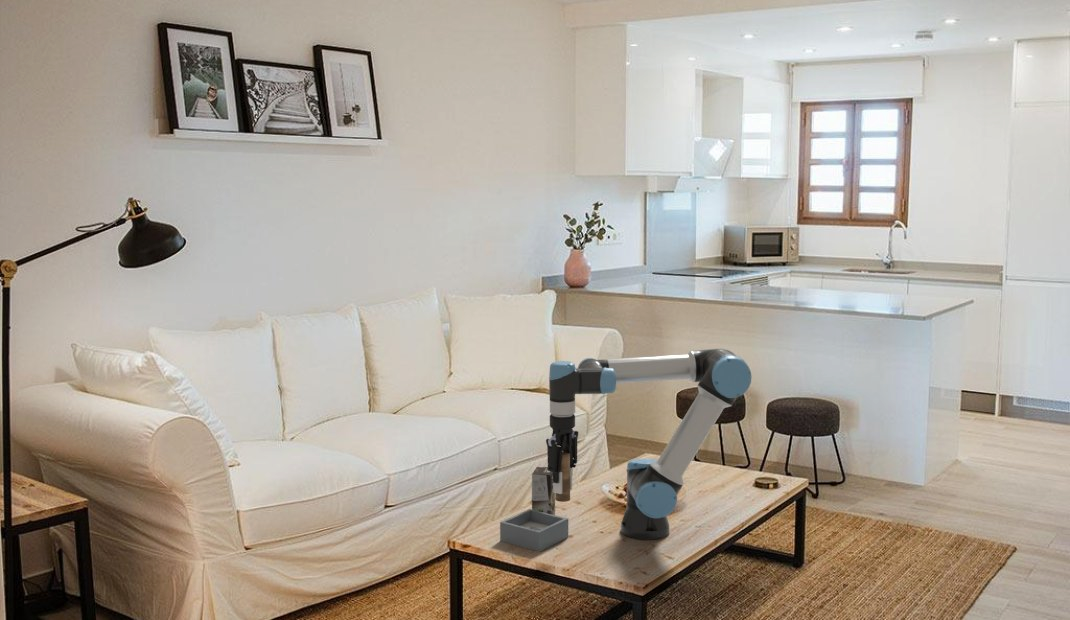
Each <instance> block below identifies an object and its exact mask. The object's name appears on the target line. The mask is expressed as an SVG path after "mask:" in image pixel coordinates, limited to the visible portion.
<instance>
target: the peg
mask: <svg viewBox="0 0 1070 620" xmlns="http://www.w3.org/2000/svg"><path fill="white" fill-rule="evenodd" d="M560 472H562V494H558V493H555V502H556V501H557V502H560V503H562V502H564V503H566V502H569V501H570V500H571V490H570V453H568V452H563V453H562V462H561V470H560Z"/></svg>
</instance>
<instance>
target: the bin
mask: <svg viewBox="0 0 1070 620" xmlns="http://www.w3.org/2000/svg"><path fill="white" fill-rule="evenodd" d="M499 536H500V539H499V540H500V542H503V543H506V544H510V545H512V546H517V547H521V548H525V549H529V550H532V551H535V552H542V551H544V550H545V549H548V548H550V547H552V546H553V545H556V544H558V543H560V542H562V541H564V540H566V539H567V538H569V518H567V517H564V516H558V515H556V514H555V515H552V514H548V513H544V512H540V511H536V510H532V508H529V509H527V510H524V511H523V512H520V513H518V514H515V515H513V516H511V517H509V518H507V519H504V520H502V521H500V522H499Z"/></svg>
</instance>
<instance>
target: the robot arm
mask: <svg viewBox="0 0 1070 620" xmlns="http://www.w3.org/2000/svg"><path fill="white" fill-rule="evenodd" d="M548 374H549V375H548V376H549V377H548V382H549V383H548V385H549V386H548V388H549V392H548V393H549V414H550V415H549V428H551V429H552V432H551V437H550V438H546V439H545V442H546V447H547V448H546V449H547V453H546V454H547V467H548V471H552V472H553V493H558V494H562V472H560V470H561V462H562V453H563V452H568V453H570V491H571V490H573V468H576V467H577V464H578V438H579V431H577V430H574V429H573V428H575V427H576V415H575V413H576V395H597V394H598V395H600V394H601V395H605V394H613V393H615V391H616V389H617V384H622V383H623V384H625V383H642V382H644V383H645V382H659V381H660V382H661V381H677V380H689V381H691V382H692V383H698V384H697V389H698V394H697V396H695V398H694V401H693V402H692V404H691V405H690V407H689V408H688V410H687V412H686V414H685V415H684V417H683V418H682V419H681V420H682V421H680V423H679V425H678V427H677V428H676V430H675V432H674V433H673V434H672V435H671V438H670V440H669V442H668V443H667V445H666V447H665V448H664V449H663V451H662V453H660V456H659V458H658V459H656V458H636V459H632V460H629V461H628V462H627V465H626V466H627V467H626V508H625V511H624V515H623V518H622V521H621V524H620V531H621V533H622V534H623V535H624V536H626V537H629V538H632V539H637V540H658V539H663V538H665V537H667V536H668V535H669V534H670V523H669V520H668V516H669V515H670V514H671V513H672V512H673V511H674V510H675V509H676V506H677V502H678V495H679V493H680V491H681V489H682V487H683V486H684V483H685V482H684V478H683V477H684V474H685V472H686V471H687V470H688V468H689V466H690V464H691V463H692V461H693V460H694V458H695V456H696V455H697V453H698V451H699V450H700V448H701V447H702V445H703V443H704V441H705V440H706V438H707V437H708V435H709V434H710V432H711V430H712V429H713V427H714V426H715V424H716V422H717V420H718V419H719V417H720V416H721V414H722V412H723V410H725V408H729V407H733V404H734V403H735V402H736V400H737V398H738V397H741V396H743V395H744V394H745V393H746V392H747V391H748V390H749V388H750V385H751V384H752V373H751V369H750V366H749V365H748V363H747V362H746V361H745V360H744V359H743V358H741V356H739V355H738V356H737V355H736V354H735V353H734V352H732V351H730V350H728V349H725V348H712V349H711V348H710V349H701V350H690V351H689V352H688V353H687V354H671V355H659V356H641V357H624V358H607V359H596V358H593V357H587V358H584V359H583V360H581V361H580V362H579V364H578V367H576V365H575V363H574V362H573V361H568V360H567V361H566V360H558V361H554V362H552V363H551V364H550V366H549V373H548Z"/></svg>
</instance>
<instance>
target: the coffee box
mask: <svg viewBox="0 0 1070 620" xmlns="http://www.w3.org/2000/svg"><path fill="white" fill-rule="evenodd" d="M531 510H536V511H540V512H544V513H548V514H552V515H556V500H555V493H553V472H552V471H548V466H543V467H542V466H536V468H535V469H534V470H533V472H532V473H531Z"/></svg>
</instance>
